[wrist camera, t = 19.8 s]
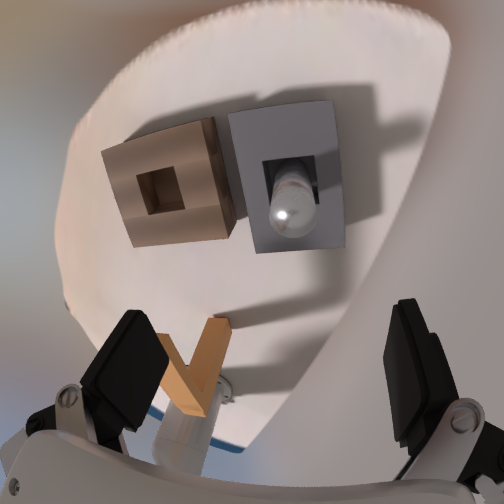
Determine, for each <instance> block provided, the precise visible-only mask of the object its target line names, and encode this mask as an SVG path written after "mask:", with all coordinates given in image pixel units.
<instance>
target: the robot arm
mask: <svg viewBox="0 0 504 504" xmlns="http://www.w3.org/2000/svg"><path fill="white" fill-rule="evenodd" d="M383 361H384V368H385V374H386V380H387V386H388V392H389V398H390V405H391V413H392V420H393V428H394V438H395V441H396V442H398V441H400V448H402V447H407V446H408V454H409V455H410V457H409V459H408V460H407V462H406V463H405V465H404V466H403V467H402V469H401V470H400V471H399V473H398V474H397V475H396V476H395V478H394V479H393V480H392V481H389V482H379V483H370V484H360V485H349V486H331V487H283V486H267V485H255V484H246V483H238V482H231V481H223V480H218V479H212V478H206V477H202V476H201V472H202V468H203V465H204V461H205V458H206V454H207V451H208V447H209V444H210V440H211V437H212V433H213V430H214V426H215V423H216V419H217V416H218V412H219V409H220V405H221V402H224V401H227V400H228V399H230V397H231V394H232V388H231V385H230V384H229V383H228V382H227V381H226V380H225V379H224V378H222V377H221V376H219V377H218V381H217V384H216V387H215V390H214V394H213V397H212V400H211V403H210V407H209V410H208V413H207V416H206V417H200V416H194V415H188V414H184V413H183V412H182V411H181V410H180V408H177V407H176V405H175V404H174V403H173V402H172V400H170V402H169V405H168V407H167V410H166V412H165V414H164V417H163V419H162V422H161V425H160V427H159V430H158V432H157V435H156V437H155V440H154V442H153V445H152V456H153V459H154V461H155V463H156V465H154V464H151V463H148V462H144V461H141V460H138V459H135V458H133V457H130V456H129V453H128V450H127V447H126V444H125V440H124V437H123V433H122V430H123V428H125V429H126V430H129V431H132V432H135V433H136V431H137V429H138V427H140V426H141V425H142V423H143V421H144V419H145V416H146V414H147V412H148V409H149V407H150V405H151V403H152V400H153V398H154V396H155V394H156V391H157V389H158V387H159V385H160V382H161V380H162V378H163V376H164V374H165V371H166V369H167V367H168V365H169V356H168V354H167V352H166V351H165V349H164V347H163V345H162V344H161V342H160V340H159V338H158V336H157V334H156V332H155V331H154V329H153V327H152V325H151V323H150V321H149V319H148V317H147V315H146V314H144V313H143V311H141V310H127V311H126V312H125V314H124V315H123V317H122V318H121V320H120V321H119V322H118V324H117V325H116V327H115V328H114V330H113V331H112V333H111V334H110V336H109V337H108V339H107V340H106V341H105V343H104V344H103V346H102V347H101V349H100V351H99V352H98V354H97V355H96V357H95V358H94V360H93V361H92V363H91V364H90V366H89V367H88V369H87V371H86V372H85V374H84V376H83V377H82V379H81V380H80V383H81V385H82V386H83V387H82V388H80V387H79V386H78V385H76V384H69V385H66V386H64V387H63V388H62V389H61V390H60V391H59V392H58V394H57V396H56V400H55V404H54V405H52V406H50V407H47V408H45V409H43V410H41V411H38V412H36V413H34V414H33V415H31V416H30V417H29V419H28V420H27V424H26V429H25V428H23V429H21V430H20V431H19V432H18V433H17V434H15V435H14V436H13V437H12V438H10V439H9V440H8V441H7V442H5V443H4V444H3V445H2V447H1V449H0V459H1V462H2V465H3V468H4V471H5V474H6V477H7V479H6V481H5V483H4V486H3V488H2V491H1V494H0V504H476V502H475V499H474V496H473V494H472V492H473V493H476V494H481V495H482V496H483V498H484V499H485V500H486V501H485V502H484V503H485V504H504V431H503V430H501V429H500V428H498V427H496V426H494V425H492V424H490V423H488V422H486V421H485V413H484V410H483V408H482V406H481V405H480V404H479V403H478V402H477V401H475V400H474V399H470V398H461V399H459V396H458V392H457V389H456V386H455V383H454V380H453V376H452V374H451V370H450V367H449V364H448V361H447V359H446V356H445V353H444V350H443V348H442V345H441V342H440V340H439V337H438V336H437V334H436V333H429V331H428V329H427V326H426V323H425V321H424V318H423V316H422V313H421V311H420V308H419V306H418V304H417V301H416V300H415V299H414V298H411V299H403V300H399V301H398V304H396V305H394V306H393V310H392V316H391V322H390V326H389V332H388V336H387V341H386V346H385V350H384V355H383ZM186 367H187V369H188V367H189V366H186Z"/></svg>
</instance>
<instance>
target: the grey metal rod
mask: <svg viewBox="0 0 504 504" xmlns="http://www.w3.org/2000/svg"><path fill="white" fill-rule="evenodd" d="M269 219H270V223H271V225H272V227H273V228H274V230H275V231H276V232H278V233H279V234H281V235H282V236H285V237H289V238H298V237H302V236H304V235H306V234H308V233H309V232H310V231H311V230H312V229H313V228H314V226H315V225H316V222H317V210H316V205H315V200H314V196H313V191H312V186H311V182H310V178H309V173H308V169H307V167H306V166H305V164H304V163H303V162H301V161H299V160H297V159H287V160H284V161H283V162H281V163H280V164H279V166H278V167H277V170H276V176H275V182H274V188H273V194H272V200H271V206H270V212H269Z"/></svg>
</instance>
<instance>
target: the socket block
mask: <svg viewBox="0 0 504 504" xmlns="http://www.w3.org/2000/svg"><path fill="white" fill-rule="evenodd" d="M101 154H102V157H103V161H104V164H105V168H106V171H107V174H108V178H109V181H110V184H111V187H112V190H113V193H114V196H115V199H116V202H117V205H118V208H119V211H120V213H121V216H122V219H123V222H124V224H125V227H126V230H127V232H128V235H129V238H130V240H131V243H132V245H133V248H135V247H145V246H155V245H165V244H175V243H185V242H195V241H206V240H217V239H228V238H229V236H230V234H231V232H232V230H233V228H234V226H235V224H236V222H237V220H236V216H235V212H234V207H233V203H232V198H231V194H230V189H229V185H228V180H227V176H226V171H225V167H224V162H223V157H222V153H221V148H220V144H219V139H218V135H217V130H216V125H215V121H214V117H211V118H206V119H202V120H198V121H194V122H190V123H186V124H182V125H179V126H175V127H171V128H168V129H164V130H161V131H158V132H154V133H151V134H148V135H145V136H142V137H139V138H136V139H133V140H130V141H127V142H124V143H121V144H118V145H116V146H113V147H110V148H108V149H105V150H103V151H101Z"/></svg>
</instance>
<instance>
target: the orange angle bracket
mask: <svg viewBox="0 0 504 504" xmlns="http://www.w3.org/2000/svg"><path fill="white" fill-rule="evenodd" d="M156 334H157V336H158V338H159V340H160V342H161V344H162V345H163V347H164V349H165V351H166V352H167V354H168V356H169V365H168V367H167V369H166V371H165V374H164V376H163V378H162V380H161V382H160V386H161V387H162V388H163V390H164V391H165V392H166V394H167V395H168V396H169V398H170V399H171V400H172V402H173V403H174V404H175V405H176V407H177V408H180V410H181V411H182V412H183V413H184V414H188V415H194V416H200V417H206V416H207V413H208V410H209V407H210V403H211V400H212V397H213V394H214V390H215V387H216V384H217V381H218V377H219V374H220V371H221V367H222V364H223V361H224V358H225V354H226V351H227V348H228V344H229V341H230V338H231V334H232V330H231V327H230V324H229V321H228V318H208V320H207V322H206V325H205V327H204V330H203V332H202V335H201V337H200V340H199V342H198V344H197V347H196V349H195V352H194V354H193V357H192V359H191V362H190V364H189V367H188V369H187V367H186V365H185V363H184V362H183V360H182V358H181V356H180V354H179V353H178V351H177V349H176V347H175V345H174V343H173V342H172V340H171V338H170V336H169V334H162V333H156Z"/></svg>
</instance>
